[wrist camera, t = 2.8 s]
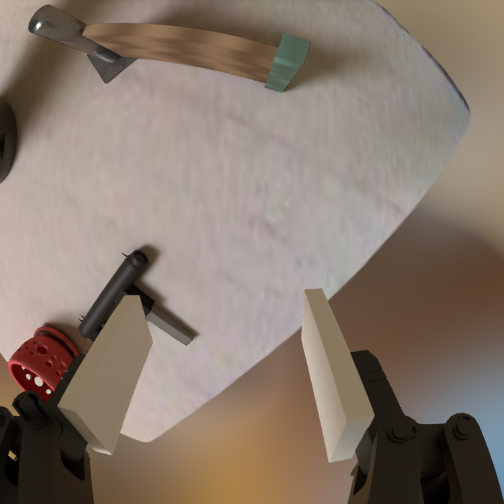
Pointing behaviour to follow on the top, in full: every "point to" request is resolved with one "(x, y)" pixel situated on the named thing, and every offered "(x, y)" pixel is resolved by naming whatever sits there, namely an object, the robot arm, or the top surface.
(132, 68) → the top surface
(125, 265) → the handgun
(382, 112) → the top surface
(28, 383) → the plant pot
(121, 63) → the hinge post
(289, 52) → the wooden board
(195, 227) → the top surface
